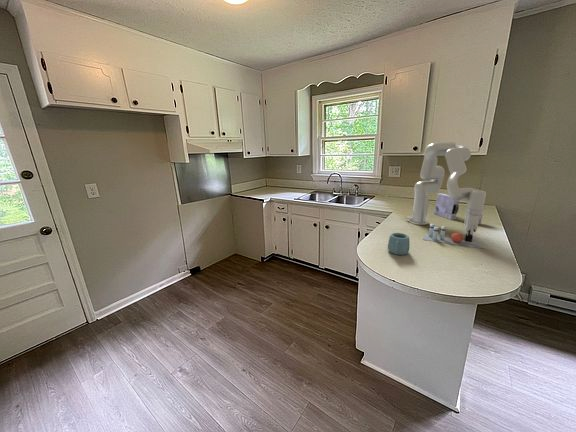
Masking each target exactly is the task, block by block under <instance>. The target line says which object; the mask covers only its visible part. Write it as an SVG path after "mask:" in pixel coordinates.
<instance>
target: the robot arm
mask: <svg viewBox="0 0 576 432" xmlns="http://www.w3.org/2000/svg"><path fill="white" fill-rule="evenodd" d="M438 156H439V157H440V156H441V157H443V156H444V158H445V162H446V165H447V168H448V172H449V176H448V178H447V181H446V190H447V193H448V195H449V196H450V198H451V199H452V200H454V201H459V202H463V201H467V203H466V210H465V215H466V214H467V216H466V220H465V219H464V221H465V223H464V225H463V228H464V231H465V237H464V240H465V241H466V242H472V241H473V237H474V233H476V232H477V229H478V226H479V224H478V221H479V216H481V215H482V214H483V213H484V212H483V211H484V207H485V202H486V197H487V192H486V191H485V190H482V189H481V190H480V189H476V188H475V187H460V186H459V183H458V181H459V180H458V179H459V177H460V176H462V175H464V174H465V173H466V172H467V170H468V169H467V165H466V163H465V162H466V161H468V160H469V159H470V158H471V156H472V153H471V149H469V148H468V147H466V146H465V145H461V144H459V143H456V142H452V141H450V142H449V141H448V142H446V141H445V142H442V141H440V142H432V143H430V144H428V145H427V146H426V147H425V149H424V153H423V161H422V164H421V165H422V166H421V169H420V173H419V177H420V179H421V181H418V182H416V183H415V184H414V186H413V187H414V189H413V190H414V199H413V208H412V215H410V216H409V215H405V219H407V220H408V221H409V223H411V224H413V225H418V226H425V225H428V224H429V221H428V220H427V216H428V210H429V199H430V198H429V196H428V195H429V194H430V195H431V194H436V193H437V194H438V193H439V191H440V189H441V187H442V184H443V182H444V178H445V175H446V174H445V168H444V167H443V166H441V165H437V164H438V162H439V161H438V160H439V159H438Z"/></svg>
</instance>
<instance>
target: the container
mask: <svg viewBox="0 0 576 432" xmlns="http://www.w3.org/2000/svg"><path fill="white" fill-rule="evenodd" d="M466 216H467V214H466V213H465V216H464V224H465V220H466ZM483 216H484V214H483V213H482V215H481V216H479V221H478V225H481V224H482V220H483Z"/></svg>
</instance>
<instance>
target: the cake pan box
mask: <svg viewBox="0 0 576 432" xmlns="http://www.w3.org/2000/svg"><path fill="white" fill-rule="evenodd" d="M459 207H460V201H454V200H452V199H451V198H450V196H449V194H446V193H439V192H437V196H436V202H435V207H434V211H433V214H434V215H437V216H440V217H441V218H445V219H448V220H450V221H451V220H453V221H454V220H456V218H457V214H458V212H459Z"/></svg>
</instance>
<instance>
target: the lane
mask: <svg viewBox="0 0 576 432" xmlns="http://www.w3.org/2000/svg"><path fill="white" fill-rule="evenodd" d="M422 240H424V241H429V242H435V243H436V242H437V243H443V244H451V245H457V246H463V247H469V248H475V249H477V248H478V249H484V246H483V243H482V242H481V241H474V240H472V242H466V241H465V239H463V240H462V241H461V242H458V243H457V242H454V241H452V239H451V237H446V236H445V237H444V240H440V235H439V236H438V235H437V241H433V240H432V237H429V234H423V238H422Z"/></svg>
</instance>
